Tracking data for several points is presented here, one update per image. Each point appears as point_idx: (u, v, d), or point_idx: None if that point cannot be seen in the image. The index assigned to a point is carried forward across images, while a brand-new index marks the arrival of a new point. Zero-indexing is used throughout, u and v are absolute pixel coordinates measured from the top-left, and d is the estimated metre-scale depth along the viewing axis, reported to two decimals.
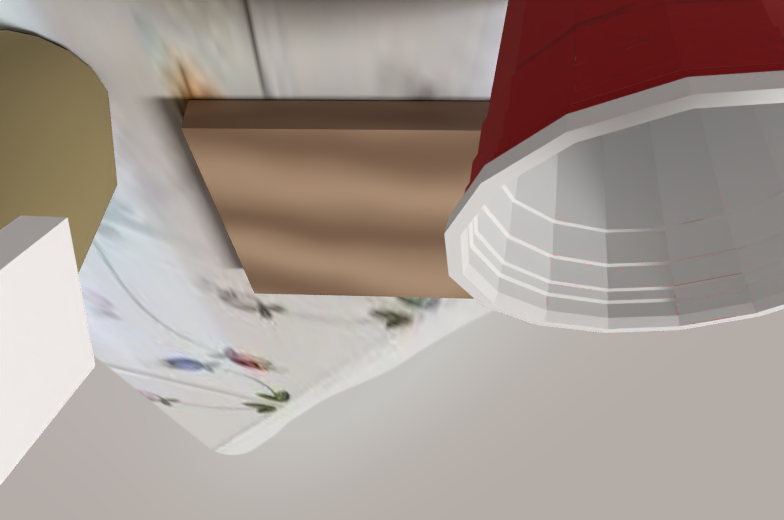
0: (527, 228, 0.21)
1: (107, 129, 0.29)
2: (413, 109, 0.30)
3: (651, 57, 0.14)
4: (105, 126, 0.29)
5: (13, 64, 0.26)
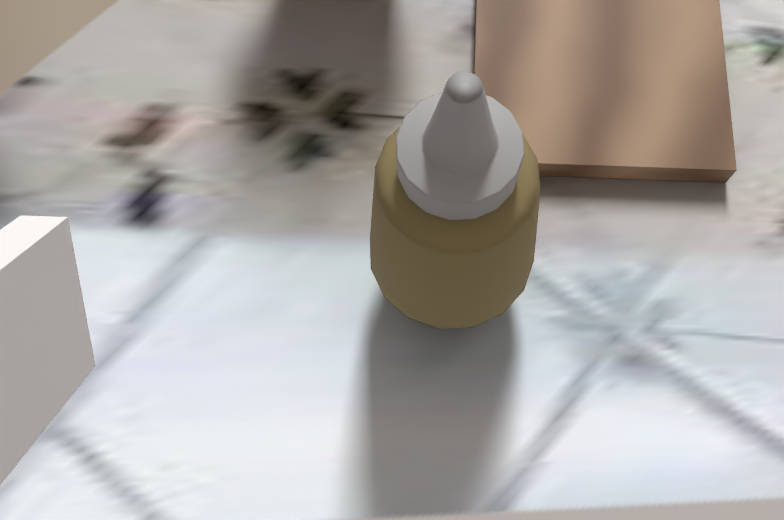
0: None
1: None
2: (475, 30, 0.45)
3: None
4: None
5: None
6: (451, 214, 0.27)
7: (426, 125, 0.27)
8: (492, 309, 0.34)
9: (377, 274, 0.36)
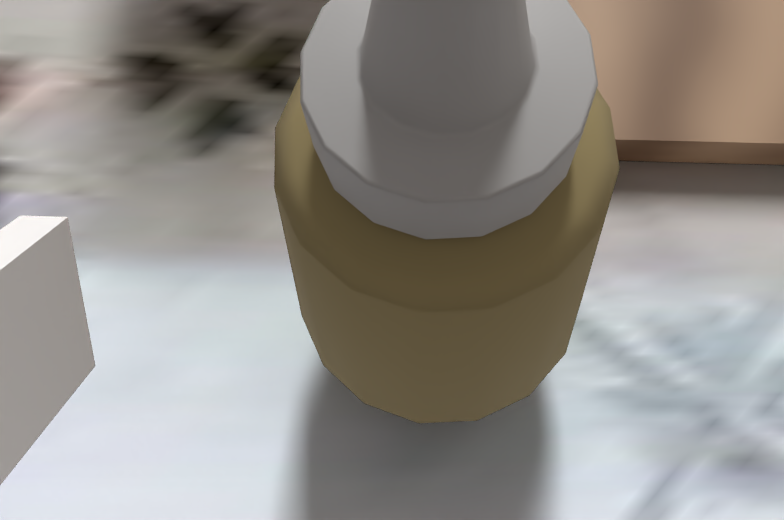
0: None
1: None
2: None
3: None
4: None
5: None
6: (429, 227, 0.12)
7: None
8: (512, 392, 0.19)
9: (309, 329, 0.20)
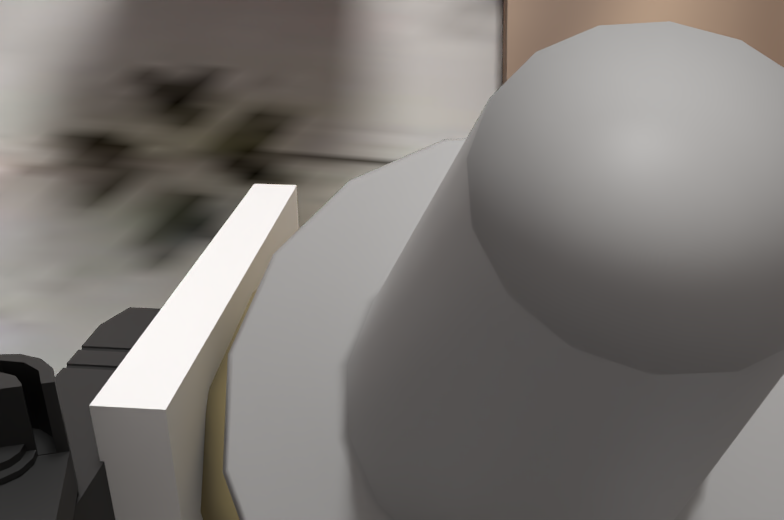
0: None
1: None
2: None
3: None
4: None
5: None
6: None
7: (365, 305, 0.06)
8: None
9: None
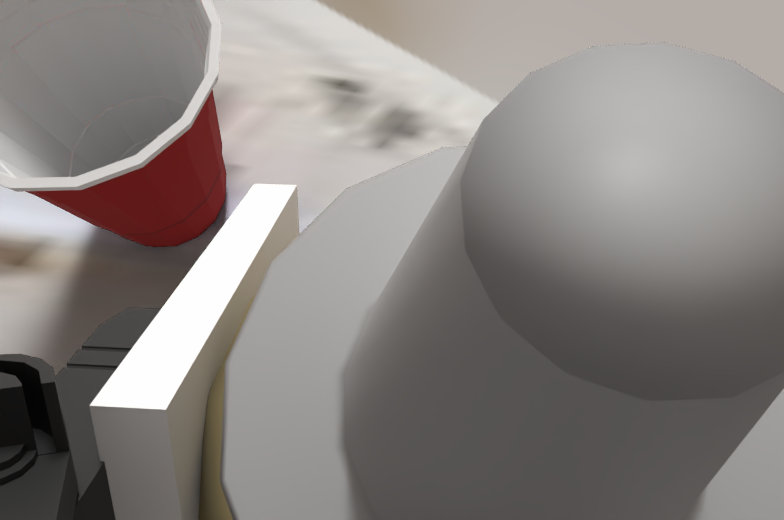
0: None
1: None
2: None
3: None
4: None
5: None
6: None
7: (362, 314, 0.06)
8: None
9: None
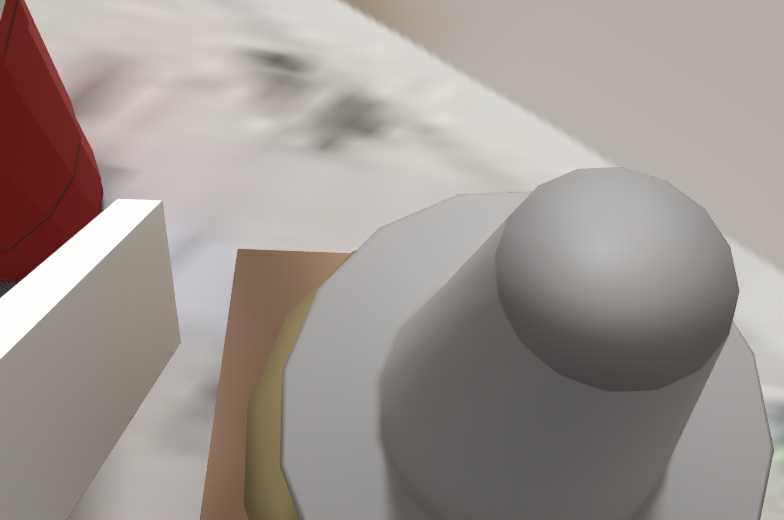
0: None
1: None
2: None
3: None
4: None
5: None
6: None
7: (395, 332, 0.07)
8: None
9: None
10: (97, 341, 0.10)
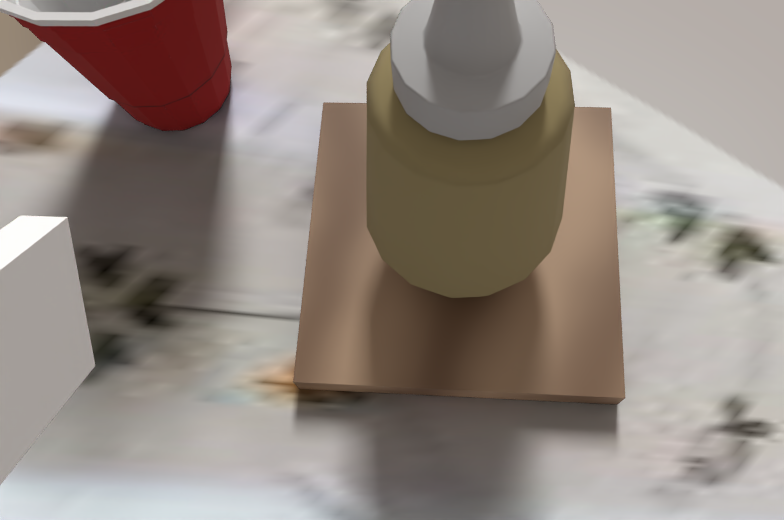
0: None
1: None
2: None
3: None
4: None
5: None
6: (462, 131, 0.21)
7: (429, 17, 0.21)
8: (513, 271, 0.28)
9: (374, 232, 0.30)
10: None
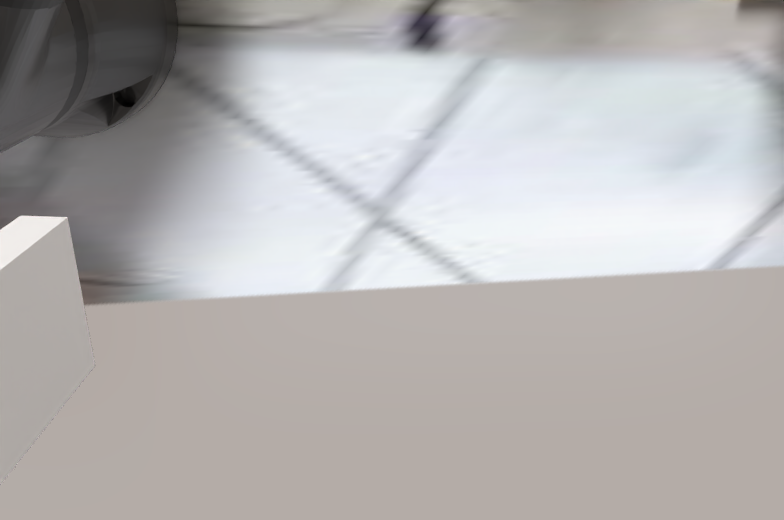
0: None
1: None
2: None
3: None
4: None
5: None
6: None
7: None
8: None
9: None
10: None
